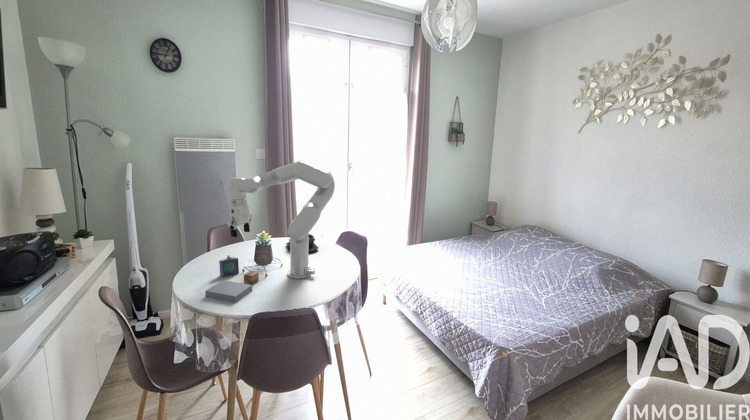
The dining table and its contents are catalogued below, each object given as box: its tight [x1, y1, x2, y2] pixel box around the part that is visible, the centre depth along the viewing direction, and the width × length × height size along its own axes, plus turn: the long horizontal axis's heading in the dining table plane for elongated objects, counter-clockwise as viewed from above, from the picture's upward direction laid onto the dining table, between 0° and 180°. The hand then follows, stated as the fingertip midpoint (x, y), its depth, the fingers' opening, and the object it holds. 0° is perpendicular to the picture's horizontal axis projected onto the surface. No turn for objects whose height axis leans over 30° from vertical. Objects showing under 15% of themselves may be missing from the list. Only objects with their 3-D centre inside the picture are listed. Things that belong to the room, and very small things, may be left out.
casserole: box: [285, 233, 319, 253], centre depth 216 cm, size 25×19×8 cm
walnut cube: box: [243, 270, 260, 286], centre depth 163 cm, size 5×5×5 cm
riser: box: [204, 279, 253, 303], centre depth 150 cm, size 16×12×3 cm
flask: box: [218, 254, 240, 278], centre depth 170 cm, size 9×3×11 cm, turn 121°
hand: (240, 234), depth 167 cm, fingers open, 9 cm apart
